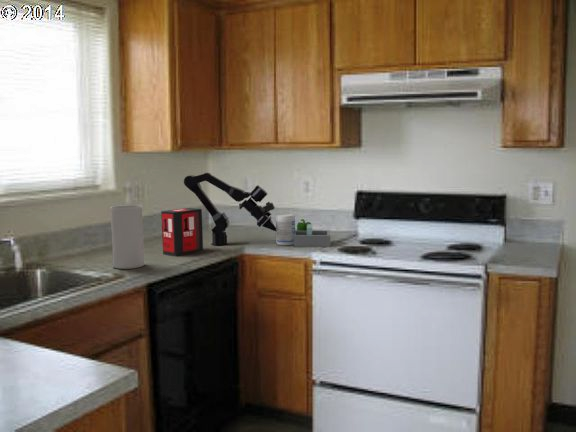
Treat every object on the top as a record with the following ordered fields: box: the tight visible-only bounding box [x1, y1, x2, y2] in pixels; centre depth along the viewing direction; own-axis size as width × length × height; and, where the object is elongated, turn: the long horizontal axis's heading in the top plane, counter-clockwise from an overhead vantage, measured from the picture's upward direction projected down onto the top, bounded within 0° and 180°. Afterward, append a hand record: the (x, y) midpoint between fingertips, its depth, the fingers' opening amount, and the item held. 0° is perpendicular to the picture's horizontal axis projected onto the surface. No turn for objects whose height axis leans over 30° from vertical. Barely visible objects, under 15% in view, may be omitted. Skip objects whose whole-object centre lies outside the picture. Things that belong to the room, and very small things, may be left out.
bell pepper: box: [296, 218, 312, 231], centre depth 322 cm, size 8×8×10 cm
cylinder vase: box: [110, 204, 145, 270], centre depth 251 cm, size 12×12×25 cm
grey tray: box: [293, 230, 331, 248], centre depth 300 cm, size 18×17×6 cm
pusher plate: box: [307, 223, 313, 235], centre depth 300 cm, size 2×13×9 cm, turn 177°
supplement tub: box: [275, 213, 296, 246], centre depth 300 cm, size 10×10×15 cm
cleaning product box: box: [160, 207, 204, 257], centre depth 282 cm, size 16×9×20 cm, turn 139°
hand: (276, 230), depth 301 cm, fingers closed
